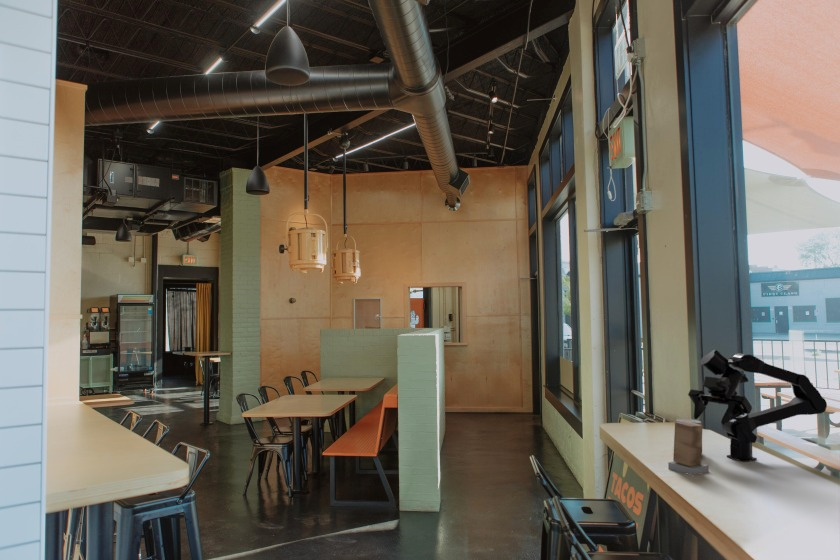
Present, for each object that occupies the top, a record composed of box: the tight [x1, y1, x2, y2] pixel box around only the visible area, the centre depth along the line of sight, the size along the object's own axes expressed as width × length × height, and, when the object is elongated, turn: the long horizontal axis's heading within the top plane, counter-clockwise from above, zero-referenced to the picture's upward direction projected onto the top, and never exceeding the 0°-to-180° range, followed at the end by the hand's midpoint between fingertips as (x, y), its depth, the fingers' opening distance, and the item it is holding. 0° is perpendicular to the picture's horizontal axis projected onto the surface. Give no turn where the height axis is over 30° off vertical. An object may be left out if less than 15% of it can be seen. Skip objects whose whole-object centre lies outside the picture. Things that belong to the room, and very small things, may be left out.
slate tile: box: [667, 461, 710, 476], centre depth 167 cm, size 8×8×2 cm
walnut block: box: [672, 421, 704, 466], centre depth 168 cm, size 6×6×12 cm
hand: (708, 420), depth 175 cm, fingers open, 9 cm apart
